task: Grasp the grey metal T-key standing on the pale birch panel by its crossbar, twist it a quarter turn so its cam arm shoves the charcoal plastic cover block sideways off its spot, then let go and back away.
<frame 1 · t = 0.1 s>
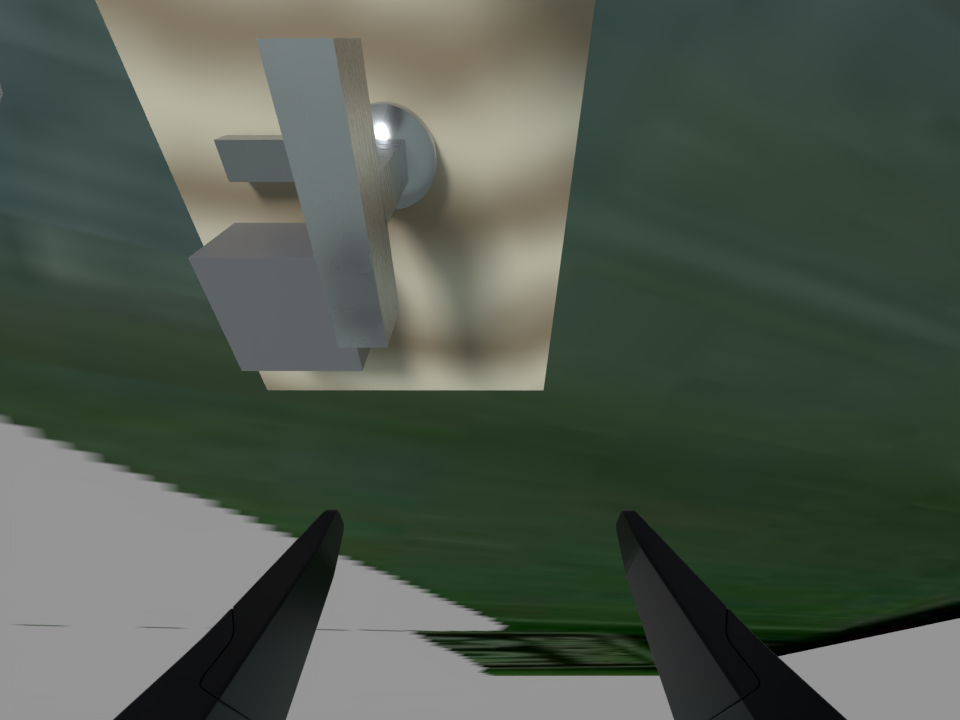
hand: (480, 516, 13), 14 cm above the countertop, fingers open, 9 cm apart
panel: (384, 188, 21), on the countertop
cover: (312, 278, 21), point 2 cm above the countertop, touching panel
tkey: (391, 154, 18), point 2 cm above the countertop, hinge at 0.0°
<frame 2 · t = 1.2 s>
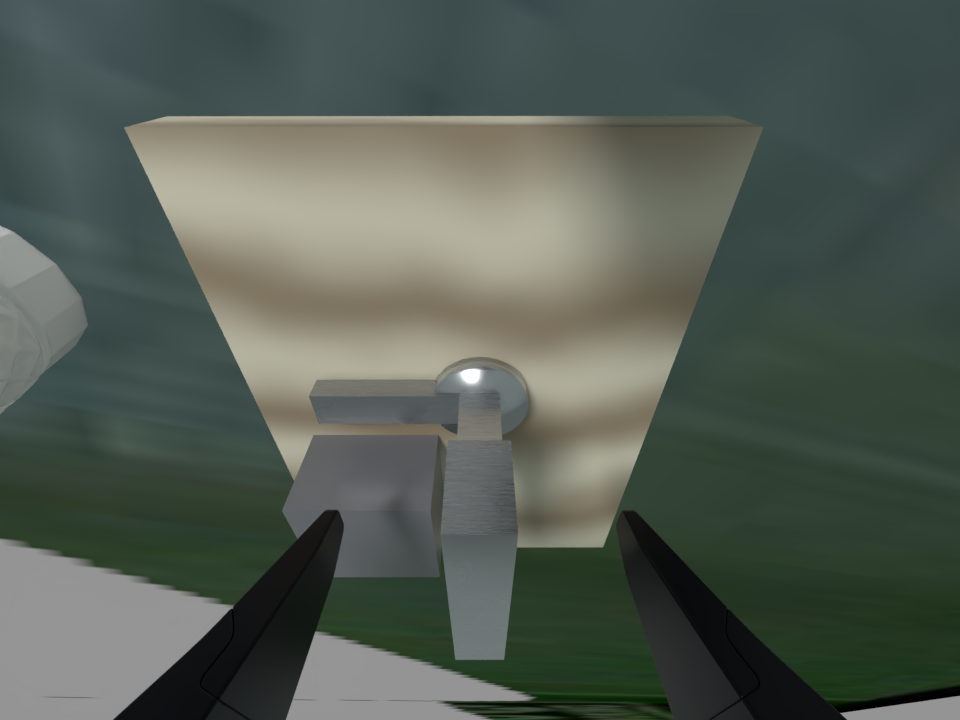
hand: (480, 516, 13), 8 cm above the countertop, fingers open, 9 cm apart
panel: (459, 391, 20), on the countertop
cover: (385, 472, 21), point 2 cm above the countertop, touching panel
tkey: (479, 388, 18), point 2 cm above the countertop, hinge at 0.0°
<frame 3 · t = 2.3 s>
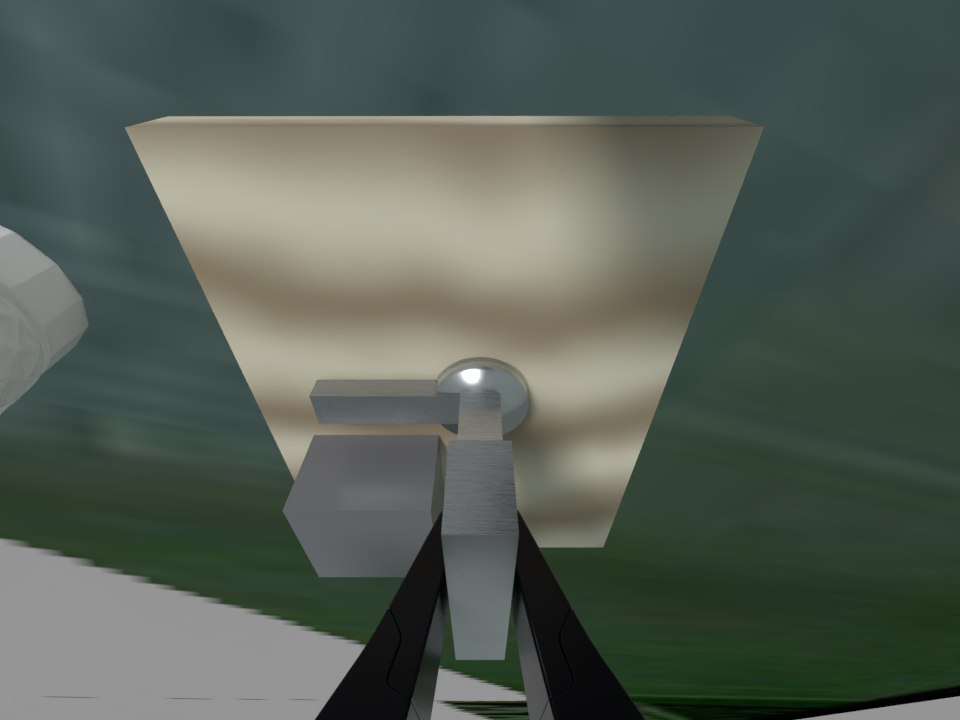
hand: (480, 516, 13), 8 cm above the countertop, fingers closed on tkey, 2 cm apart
panel: (460, 391, 20), on the countertop
cover: (385, 472, 21), point 2 cm above the countertop, touching panel
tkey: (480, 388, 18), point 2 cm above the countertop, hinge at 0.0°, touching gripper
white cup: (0, 281, 17), on the countertop
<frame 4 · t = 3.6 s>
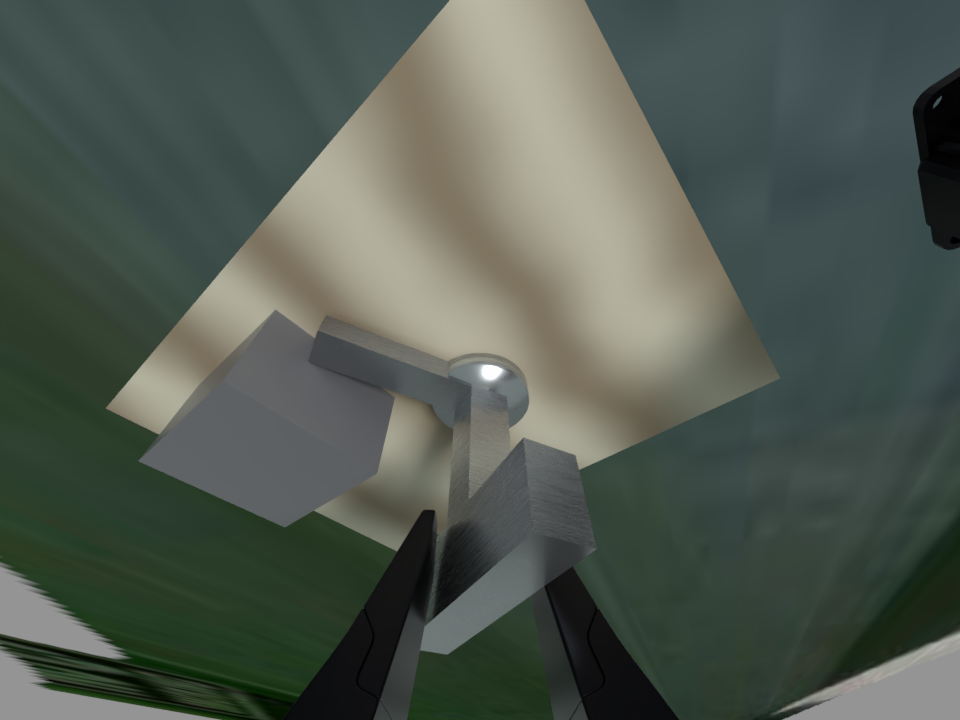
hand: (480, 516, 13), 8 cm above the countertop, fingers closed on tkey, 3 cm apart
panel: (435, 364, 20), on the countertop
cover: (297, 391, 18), point 2 cm above the countertop, touching panel, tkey
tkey: (480, 384, 18), point 2 cm above the countertop, hinge at 22.9°, touching cover, gripper
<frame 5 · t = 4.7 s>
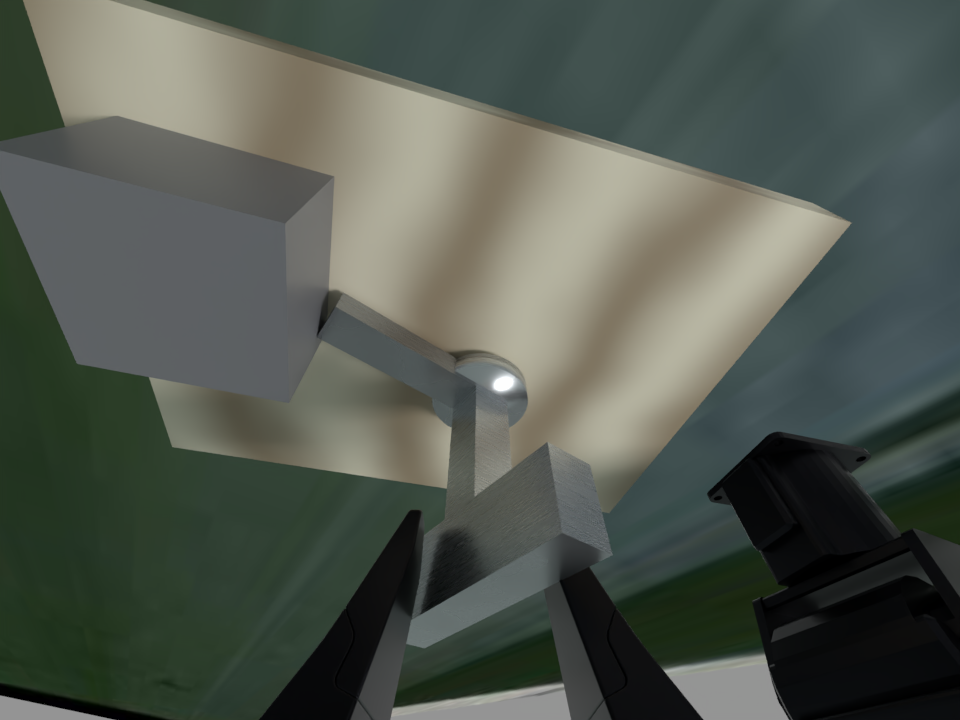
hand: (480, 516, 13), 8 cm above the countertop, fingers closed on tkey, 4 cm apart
panel: (443, 331, 18), on the countertop
cover: (239, 241, 14), point 2 cm above the countertop, touching panel
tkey: (480, 385, 18), point 2 cm above the countertop, hinge at 67.1°, touching gripper
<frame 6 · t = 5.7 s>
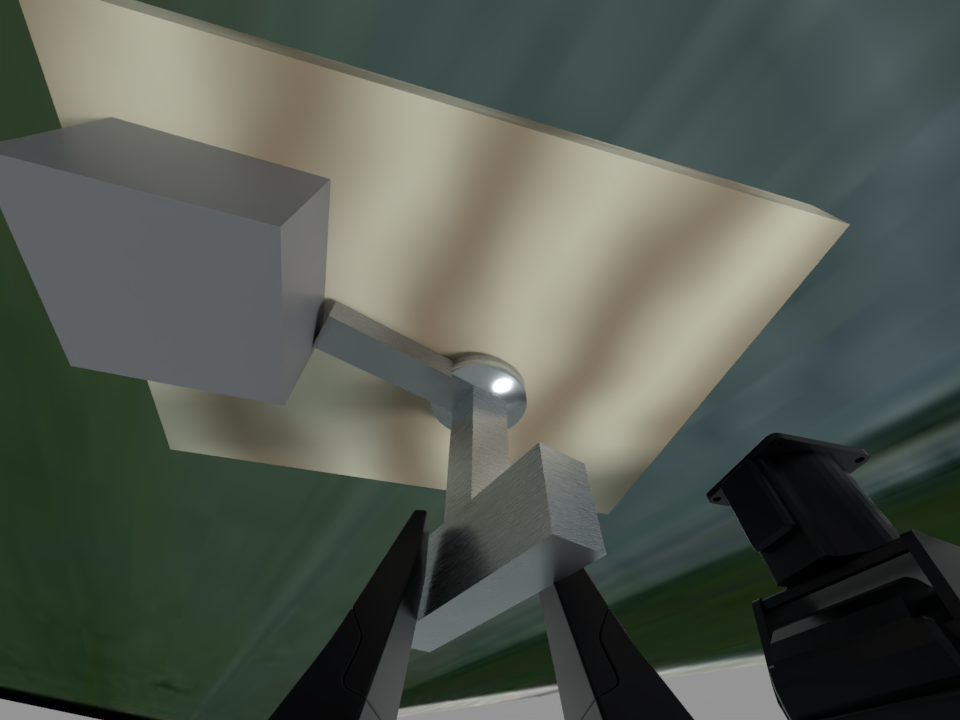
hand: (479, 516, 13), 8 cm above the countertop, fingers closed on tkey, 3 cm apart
panel: (441, 333, 18), on the countertop
cover: (235, 243, 14), point 2 cm above the countertop, touching panel
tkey: (478, 386, 18), point 2 cm above the countertop, hinge at 70.2°, touching gripper
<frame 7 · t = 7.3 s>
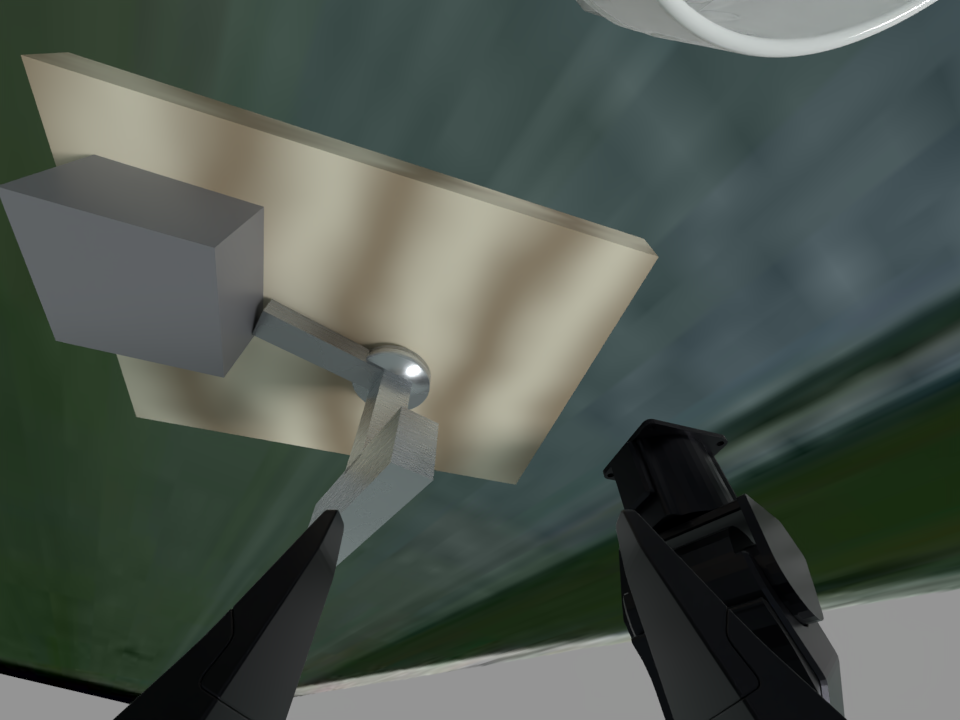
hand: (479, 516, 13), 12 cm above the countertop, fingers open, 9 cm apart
panel: (367, 326, 23), on the countertop
cover: (190, 250, 18), point 2 cm above the countertop, touching panel, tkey
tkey: (394, 371, 22), point 2 cm above the countertop, hinge at 70.8°, touching cover
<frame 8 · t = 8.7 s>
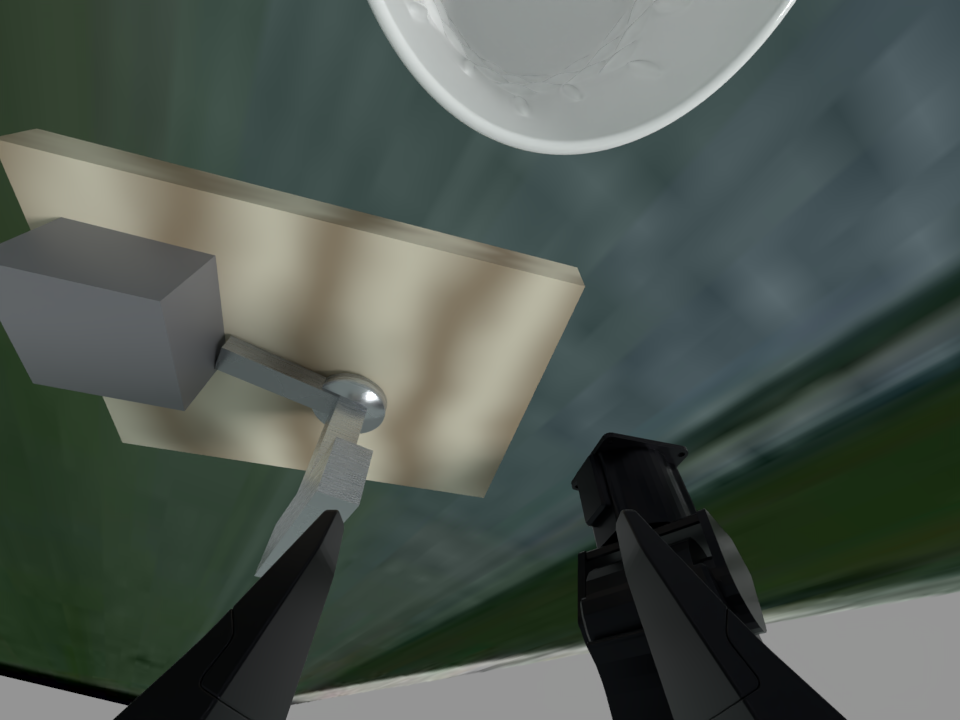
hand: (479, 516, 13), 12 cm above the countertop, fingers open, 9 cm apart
panel: (328, 354, 24), on the countertop
cover: (154, 295, 19), point 2 cm above the countertop, touching panel, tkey
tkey: (353, 396, 23), point 2 cm above the countertop, hinge at 70.8°, touching cover
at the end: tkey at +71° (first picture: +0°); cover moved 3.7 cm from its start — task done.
